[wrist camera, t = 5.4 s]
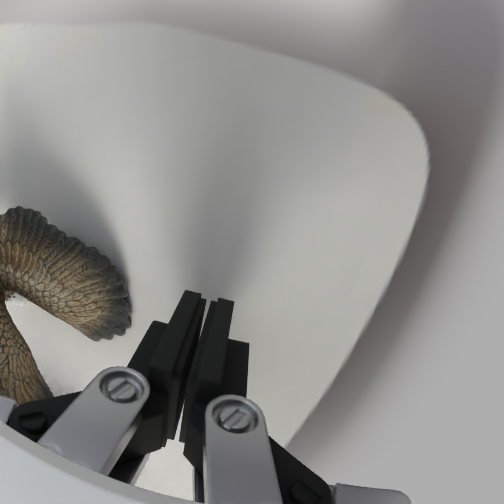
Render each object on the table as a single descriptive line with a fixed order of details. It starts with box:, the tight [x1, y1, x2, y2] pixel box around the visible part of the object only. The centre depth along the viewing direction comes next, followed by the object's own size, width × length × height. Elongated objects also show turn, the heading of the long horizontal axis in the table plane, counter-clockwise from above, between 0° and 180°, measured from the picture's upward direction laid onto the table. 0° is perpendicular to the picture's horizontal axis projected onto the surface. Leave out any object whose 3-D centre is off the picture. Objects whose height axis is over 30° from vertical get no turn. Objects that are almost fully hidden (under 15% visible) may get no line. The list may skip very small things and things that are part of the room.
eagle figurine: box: [0, 206, 132, 405], centre depth 8 cm, size 8×7×9 cm
